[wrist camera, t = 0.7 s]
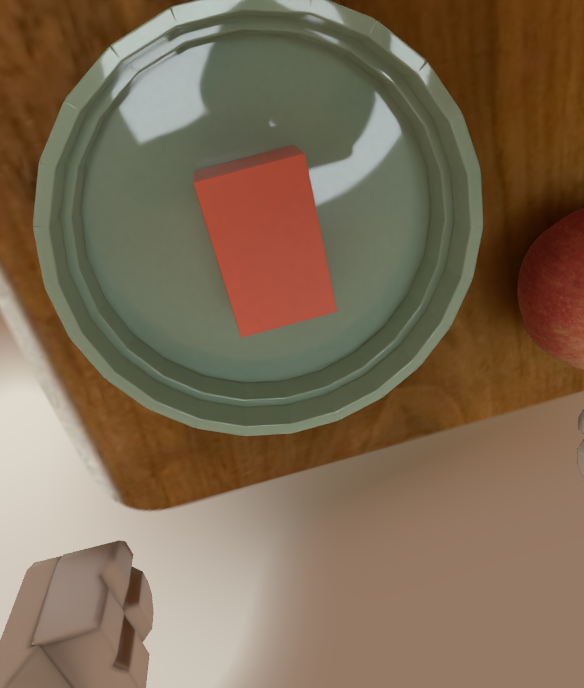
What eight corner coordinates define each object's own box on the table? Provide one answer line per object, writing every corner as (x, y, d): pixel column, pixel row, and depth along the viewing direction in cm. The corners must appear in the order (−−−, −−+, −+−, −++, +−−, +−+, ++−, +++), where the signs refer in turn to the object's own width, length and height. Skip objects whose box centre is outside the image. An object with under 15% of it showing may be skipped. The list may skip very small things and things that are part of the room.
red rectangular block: (194, 170, 23) (192, 182, 20) (293, 144, 23) (304, 152, 20) (237, 312, 26) (241, 338, 23) (324, 288, 26) (337, 312, 23)
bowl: (-18, 68, 20) (-66, 66, 17) (425, -45, 21) (469, -71, 17) (145, 428, 29) (137, 476, 25) (457, 342, 29) (491, 378, 26)
